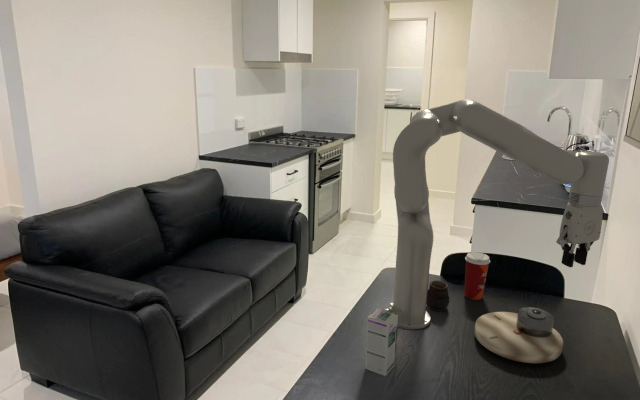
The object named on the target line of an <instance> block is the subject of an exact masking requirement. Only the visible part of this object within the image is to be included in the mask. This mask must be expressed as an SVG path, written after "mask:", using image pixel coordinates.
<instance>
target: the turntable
mask: <svg viewBox="0 0 640 400" xmlns="http://www.w3.org/2000/svg"><path fill="white" fill-rule="evenodd" d="M517 316H518V312H517V313H516V312H510V311H494V312H489V313H488V312H487V313H485V314H482V315H480V316H479V317H478V318H477V319H476V321H475V323H474V324H475V325H474V336H475V338H476V340H477V341H478V342H479V344H481V345H482V346H483V347H484V348H486V349H487V350H488V351H490V352H492V353H493V354H496V355H497V356H500V357H502V358H504V359H505V358H506V359H507V360H511V361H514V362H515V361H516V362H520V363H525V364H526V363H527V364H544V363H545V364H546V363H549V362H552V361H555V360H556V359H558V358H559V357H560V356H561V354H562V351H563V347H564V339H563V337H562V336H561V334H560V332H558V330H556V329H555V328H554V327H553V329H552V334H551V335H550V336H548V337H534V336H530V335H527V334H525V333H523V332H521V331H520V330H519V329H518V328H517V326H516V322H517Z"/></svg>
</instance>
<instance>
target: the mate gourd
mask: <svg viewBox="0 0 640 400" xmlns="http://www.w3.org/2000/svg"><path fill="white" fill-rule="evenodd" d="M448 289H449V285H448V283H447V282H445V281H442V280H436V279H435V280H431V281H429V285H428V292H427V303H426V307H428V308H429V309H431V310H432V311H436V312H440V311H443V310H445V309H447V308H448V305H449V304H450V296H449V290H448Z"/></svg>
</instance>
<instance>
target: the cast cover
mask: <svg viewBox="0 0 640 400" xmlns="http://www.w3.org/2000/svg"><path fill="white" fill-rule="evenodd" d="M517 313H518V316H517V322H516V326H517V328H518V329H519V330H520V331H521V332H523V333H525V334H527V335H530V336H534V337H548V336H550V335H551V334H552V329H553V328H554V323H555V317H554V316H553V314H551V313H550V312H548V311H546V310H545V309H542V308H539V307H533V306H532V307H531V306H527V307H526V306H525V307H524V306H523V307H521V308H519V309H518V311H517Z"/></svg>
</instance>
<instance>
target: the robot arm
mask: <svg viewBox="0 0 640 400" xmlns="http://www.w3.org/2000/svg"><path fill="white" fill-rule="evenodd" d="M456 133H462V134H464V135H465V136H467V137H469V138H471V139H474V140H475V141H477V142H479V143H482V145H485V146H487V147H489V148H491V149H493V150H495V151H496V152H498V153H499V154H501V155H503V156H505V157H506V158H508V159H510V160H513V161H516V162H518V163H520V164H522V165H524V166H526V167H528V168H530V169H531V170H534V171H535V172H537V173H539V174H541V175H542V176H545V177H547V178H548V179H550V180H552V181H554V182H556V183H559V184H561V185H570V188H569V196H568V199H567V200H568V201H567V204H566V205H565V206H566V207H565V209H564V211H563V215H562V219H561V223H560V228H559V236H558V238H557V239H556V244H557V245H559V246H560V247H561V250H562V251H563V252H562V257H561V264H562V265H564V266H566V267H568V268H573V266H574V262H575V263H577V264H578V265H579V264H580V265H581V266H585V265H586V262H587V258H588V253H589V251H591V246H592V245H593V244H594V243H595V242H596V241H598V240H600V237H601V232H602V227H603V226H602V225H603V216H604V215H603V205H602V201H603V196H604V191H605V185H606V179H607V173H608V170H609V163H610V158H609V155H607V154H605V153H603V152H599V151H592V150H591V151H587V150H586V151H584V150H583V151H576V150H570V149H564V148H561V147H560V146H557V145H555V144H554V143H551V142H549V141H548V140H546V139H544V138H542V137H541V136H539V135H537V134H536V133H534V132H533V131H532V130H530V129H528V128H527V127H526V126H524V125H522V124H520V123H518V122H517V121H515V120H512V119H511V118H509V117H507V116H504V115H503V114H501V113H499V112H497V111H495V110H493V109H491V108H490V107H487V106H486V105H484V104H482V103H480V102H477V101H475V100H473V99H468V98H467V99H461V100H457V101H454V102H450V103H447V104H443V105H439V106H438V105H437V106H436V107H431V108H427V109H423V110H420V111H418V112H416V113H415V114H414V115H413V116H412V117H411V119H410V121H409V124H407V125H406V126H405V127H404V128H403V129H402V130H401V132H399V134H398V135H397V137H396V140H395V142H394V144H393V149H392V162H393V177H394V178H393V179H394V188H393V189H394V200H395V206H396V215H397V218H396V219H397V243H396V244H397V246H396V256H395V257H396V258H395V274H394V275H395V276H394V289H393V301H392V302H390V303H389V306H388V307H386V308H385V309H386V310H389V311H392V312H395V313H397V314H398V325H397V328H401V329H405V330H421V329H424V328H427V327H428V326H429V325H430V323H431V316H430V313H429V312H428V311H427V304H426V303H427V292H428V289H429V282H430V281H429V279H430V269H431V268H430V266H431V258H432V250H433V247H434V245H433V244H434V230H433V226H432V225H433V224H432V221H431V215H430V204H429V203H430V202H429V198H430V193H429V192H430V190H429V187H428V182H427V172H426V154H427V151H428V150H429V149H430V148H431V147H432V146H434V145H435V144H437V142H438V141H440V140H441V138H442V137H445V136H448V135H453V134H456ZM577 245H578V246H577ZM576 246H577V247H576ZM574 252H575V253H574Z"/></svg>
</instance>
